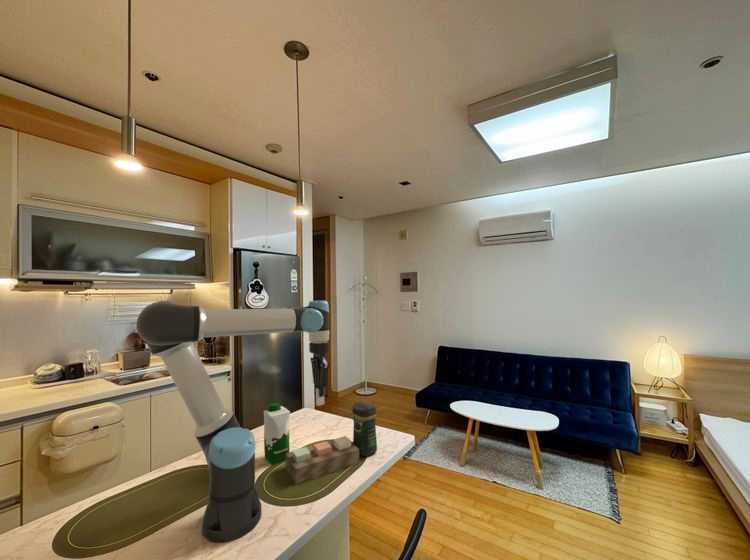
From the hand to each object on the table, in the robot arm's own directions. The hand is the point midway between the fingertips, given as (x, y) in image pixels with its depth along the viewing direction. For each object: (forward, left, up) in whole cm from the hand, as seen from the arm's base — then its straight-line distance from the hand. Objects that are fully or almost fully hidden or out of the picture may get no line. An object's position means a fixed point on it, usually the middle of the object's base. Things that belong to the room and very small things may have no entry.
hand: (320, 404), depth 118 cm
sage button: (-8, -2, -18) cm, 20 cm away
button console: (0, -2, -21) cm, 21 cm away
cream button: (+8, -2, -18) cm, 20 cm away
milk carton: (-13, +12, -22) cm, 28 cm away
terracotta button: (0, -2, -18) cm, 18 cm away
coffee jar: (+18, -2, -22) cm, 28 cm away
